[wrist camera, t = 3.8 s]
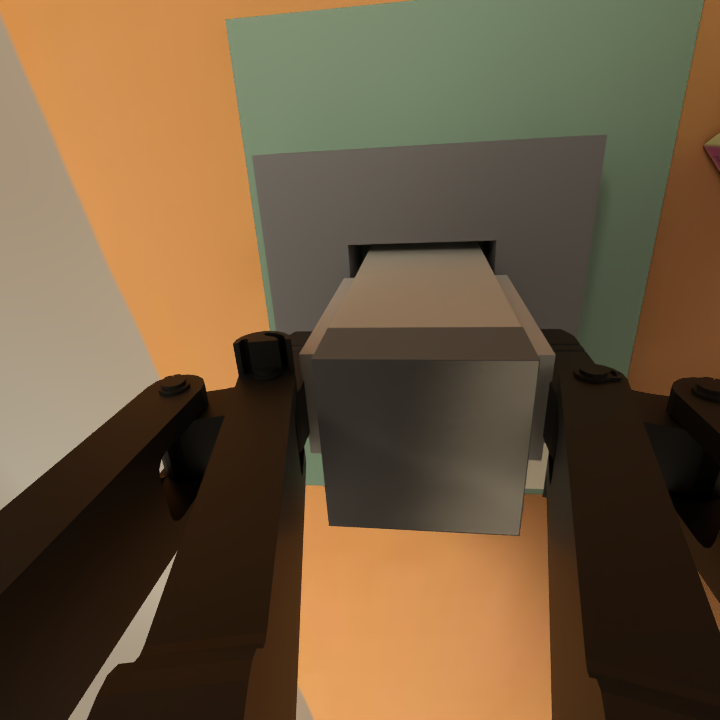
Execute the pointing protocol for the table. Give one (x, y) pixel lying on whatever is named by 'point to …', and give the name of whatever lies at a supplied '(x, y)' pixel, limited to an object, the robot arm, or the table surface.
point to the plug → (426, 395)
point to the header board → (483, 101)
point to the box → (714, 149)
